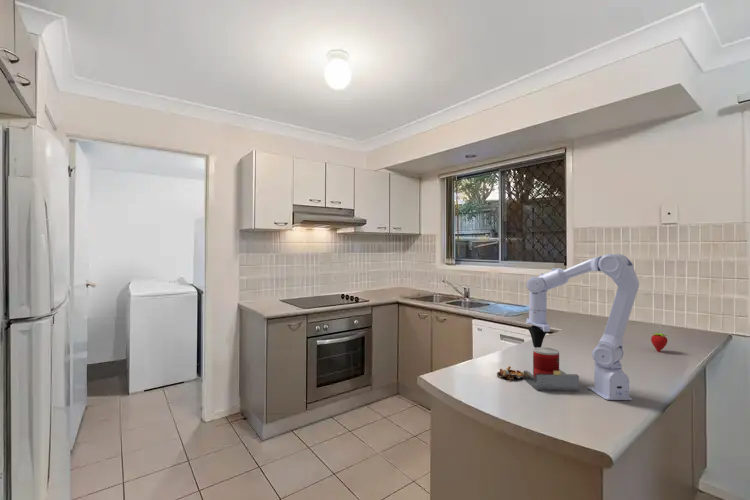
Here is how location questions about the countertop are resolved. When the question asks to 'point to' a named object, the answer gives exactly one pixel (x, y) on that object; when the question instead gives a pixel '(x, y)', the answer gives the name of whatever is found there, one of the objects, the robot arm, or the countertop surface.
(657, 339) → the strawberry
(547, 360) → the canned food
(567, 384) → the coupler bay
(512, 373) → the brown jagged clump
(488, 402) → the countertop surface
